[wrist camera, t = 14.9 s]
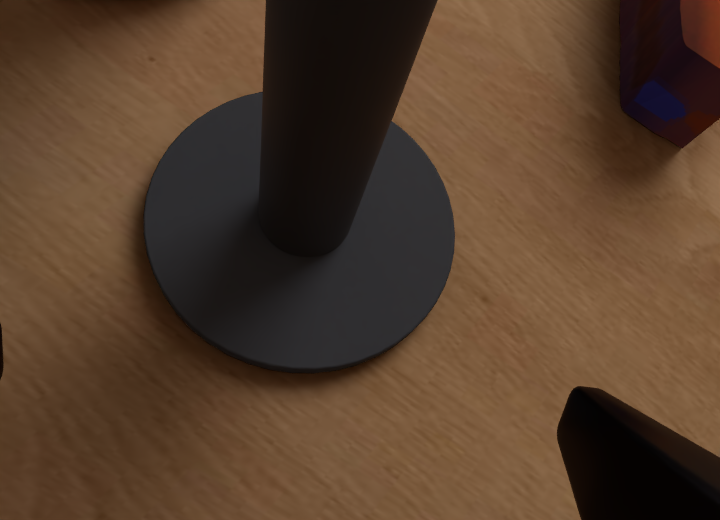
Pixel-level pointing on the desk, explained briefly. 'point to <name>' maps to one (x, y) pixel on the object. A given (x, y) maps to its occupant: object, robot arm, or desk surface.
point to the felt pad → (286, 271)
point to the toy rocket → (671, 65)
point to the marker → (329, 110)
